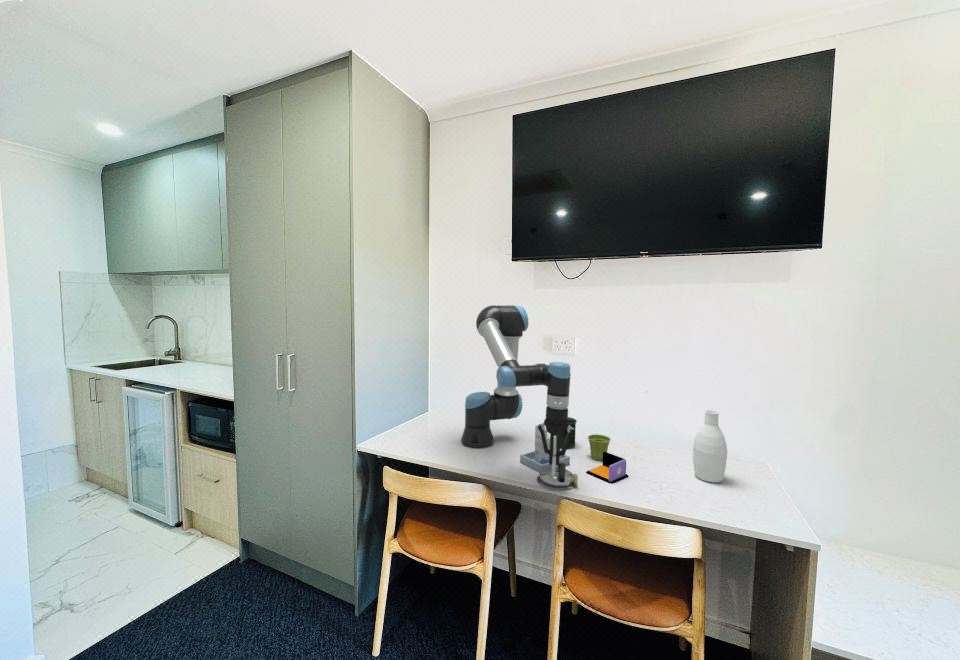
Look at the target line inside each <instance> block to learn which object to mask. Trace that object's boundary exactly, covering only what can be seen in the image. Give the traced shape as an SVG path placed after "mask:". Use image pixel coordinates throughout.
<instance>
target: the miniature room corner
mask: <svg viewBox="0 0 960 660" xmlns="http://www.w3.org/2000/svg"><path fill="white" fill-rule="evenodd" d="M585 474H587V475H589V476H591V477H594V478H596V479H597V480H601V481H603V482H604V483H608V484H610V485H613V484H615V483H619V482H620V481H623V480H625V479H627V478H628V477H629V474H628V473H627V460H626V458H623V457H620V456H618V455H615V454H612V453H610V452H608V451H607V452H603V460H602V465H598V466H596V467H594V468H591V469H590V470H589V469H588V470H587V471H585Z"/></svg>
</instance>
